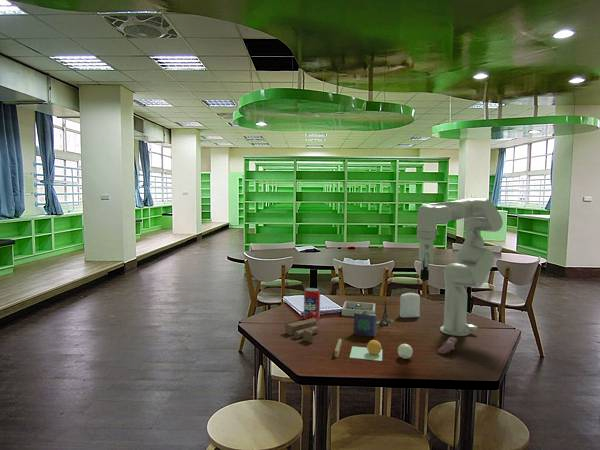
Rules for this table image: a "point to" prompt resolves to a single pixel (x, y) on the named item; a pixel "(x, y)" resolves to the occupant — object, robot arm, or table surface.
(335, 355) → the stop rail
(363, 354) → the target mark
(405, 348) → the cue ball
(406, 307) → the photo printer
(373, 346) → the orange ball
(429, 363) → the table surface
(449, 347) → the video game controller
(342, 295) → the table surface
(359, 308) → the grey rounded piece
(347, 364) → the table surface
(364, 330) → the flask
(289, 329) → the wooden block set
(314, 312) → the soda can
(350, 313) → the cup tray
